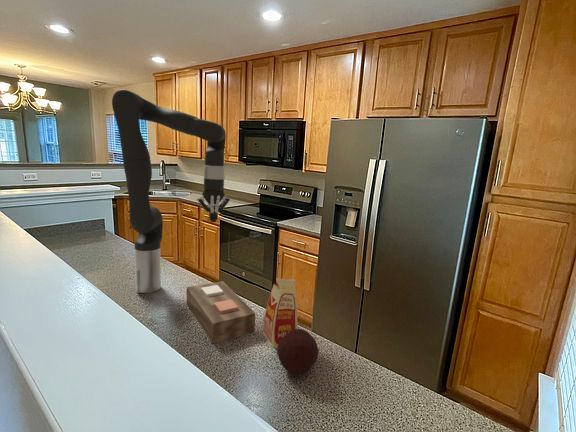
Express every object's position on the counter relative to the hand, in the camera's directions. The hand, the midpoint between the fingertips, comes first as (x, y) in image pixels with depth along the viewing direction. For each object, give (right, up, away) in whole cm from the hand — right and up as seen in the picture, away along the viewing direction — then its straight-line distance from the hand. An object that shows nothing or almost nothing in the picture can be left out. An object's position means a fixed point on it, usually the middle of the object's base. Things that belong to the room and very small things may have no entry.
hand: (213, 221), depth 123 cm
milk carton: (+27, -36, -24) cm, 51 cm away
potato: (+32, -39, -38) cm, 63 cm away
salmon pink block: (+9, -31, -20) cm, 38 cm away
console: (+5, -33, -14) cm, 36 cm away
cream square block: (+2, -28, -10) cm, 30 cm away
